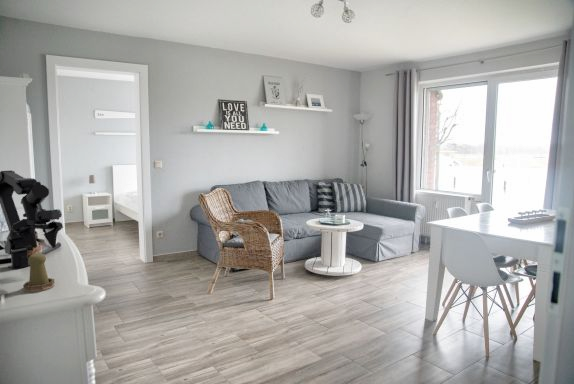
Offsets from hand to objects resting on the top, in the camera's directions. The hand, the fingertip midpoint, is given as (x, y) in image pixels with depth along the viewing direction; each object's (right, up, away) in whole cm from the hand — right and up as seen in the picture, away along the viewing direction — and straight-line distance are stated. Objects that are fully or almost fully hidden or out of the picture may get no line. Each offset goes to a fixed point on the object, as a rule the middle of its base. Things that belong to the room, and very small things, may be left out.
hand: (45, 247), depth 150 cm
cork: (+4, -12, -10) cm, 16 cm away
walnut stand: (+4, -13, -10) cm, 17 cm away
